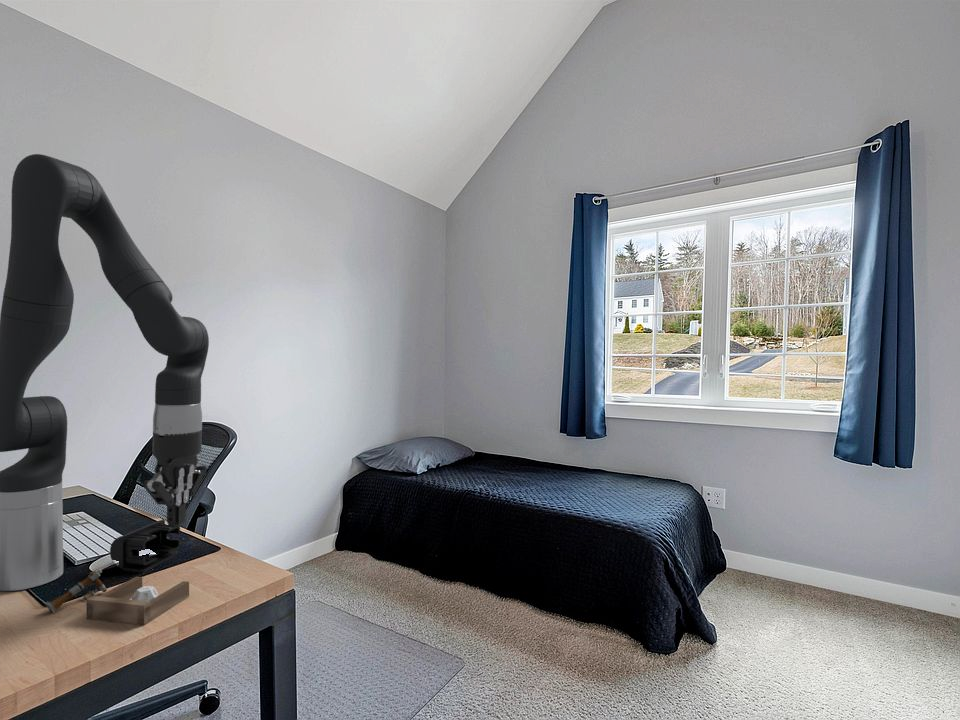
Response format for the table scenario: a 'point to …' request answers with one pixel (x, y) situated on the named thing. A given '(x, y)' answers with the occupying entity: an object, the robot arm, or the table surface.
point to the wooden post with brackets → (77, 588)
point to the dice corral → (133, 603)
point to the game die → (145, 593)
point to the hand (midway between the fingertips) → (176, 524)
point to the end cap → (145, 547)
